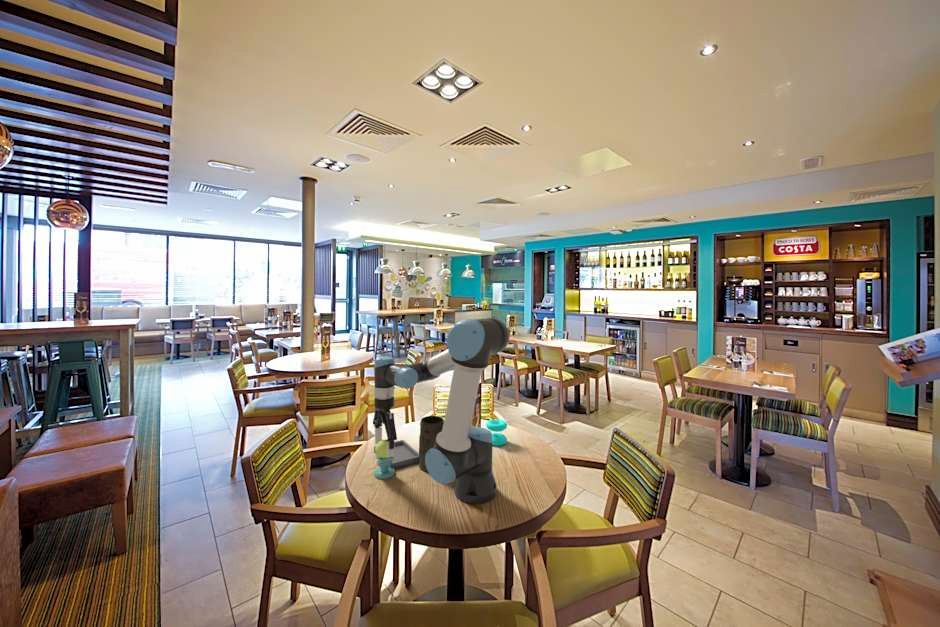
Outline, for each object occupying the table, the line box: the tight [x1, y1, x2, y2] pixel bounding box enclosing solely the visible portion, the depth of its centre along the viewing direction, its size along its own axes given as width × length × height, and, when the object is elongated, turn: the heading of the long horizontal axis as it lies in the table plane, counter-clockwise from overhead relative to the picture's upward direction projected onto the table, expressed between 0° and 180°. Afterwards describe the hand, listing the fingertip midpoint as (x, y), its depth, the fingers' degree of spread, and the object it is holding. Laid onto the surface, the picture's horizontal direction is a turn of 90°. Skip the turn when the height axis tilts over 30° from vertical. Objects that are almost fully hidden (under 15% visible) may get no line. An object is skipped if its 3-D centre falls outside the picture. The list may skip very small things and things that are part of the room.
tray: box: [373, 439, 420, 470], centre depth 160 cm, size 20×14×2 cm
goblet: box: [373, 455, 396, 480], centre depth 144 cm, size 8×8×7 cm
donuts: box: [485, 418, 508, 447], centre depth 175 cm, size 10×10×10 cm
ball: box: [375, 439, 387, 459], centre depth 144 cm, size 7×7×7 cm
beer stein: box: [418, 415, 445, 473], centre depth 150 cm, size 15×11×20 cm
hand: (384, 449), depth 144 cm, fingers open, 13 cm apart
